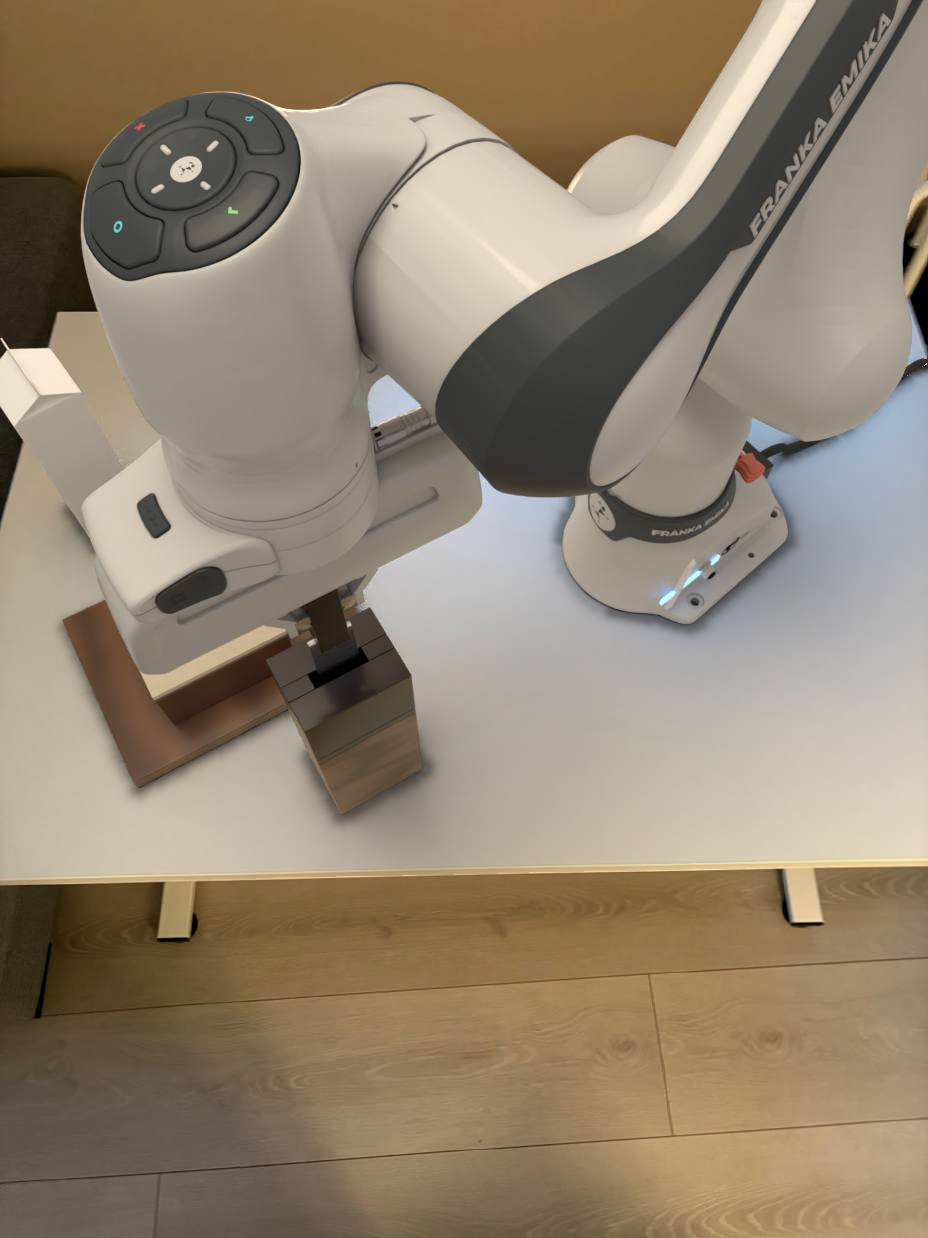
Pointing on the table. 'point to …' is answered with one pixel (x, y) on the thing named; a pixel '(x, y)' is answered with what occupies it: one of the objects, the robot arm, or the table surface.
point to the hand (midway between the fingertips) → (322, 611)
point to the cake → (217, 674)
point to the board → (137, 716)
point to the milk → (56, 424)
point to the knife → (331, 638)
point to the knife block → (354, 715)
